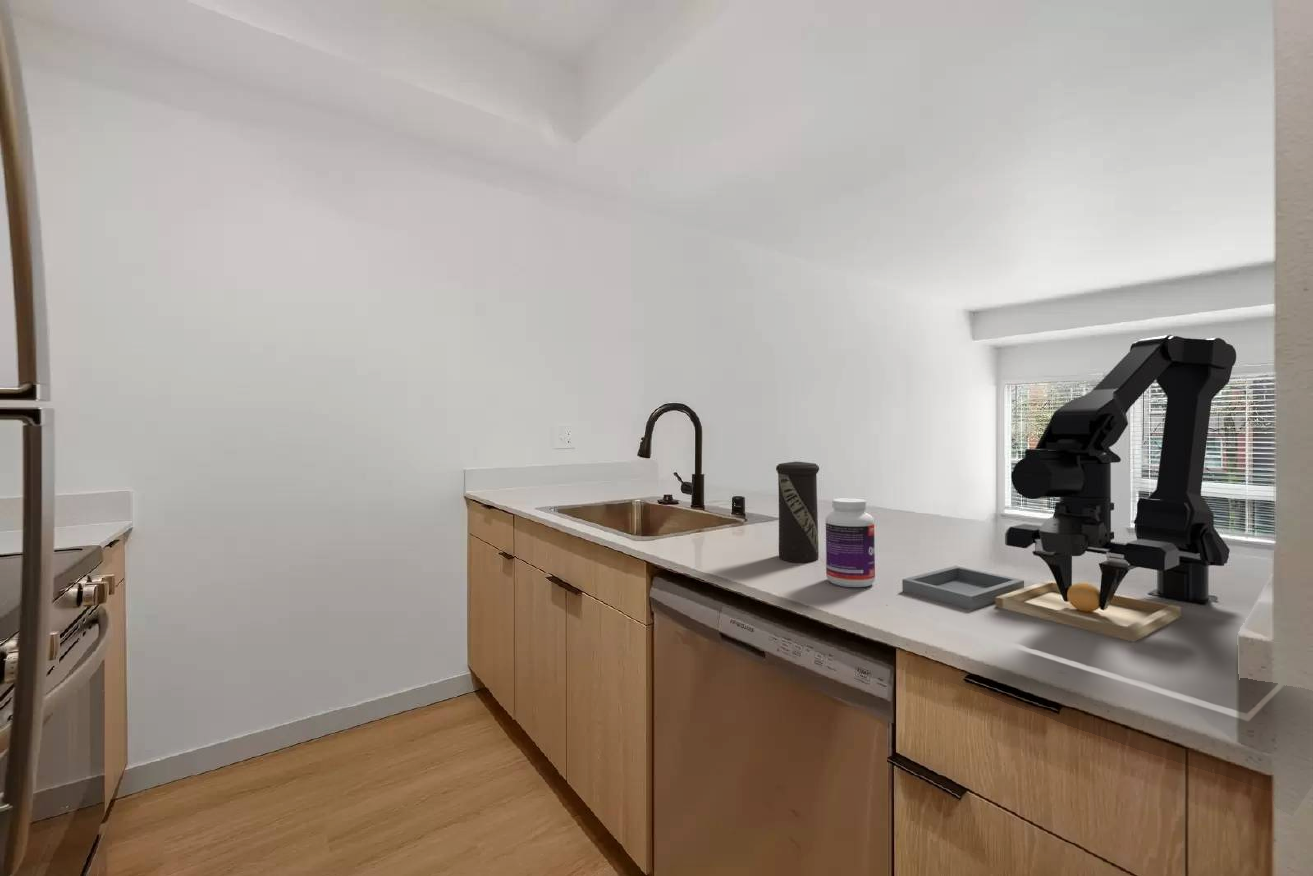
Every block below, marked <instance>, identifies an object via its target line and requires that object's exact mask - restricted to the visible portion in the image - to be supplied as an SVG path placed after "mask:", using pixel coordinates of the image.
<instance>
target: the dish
mask: <svg viewBox="0 0 1313 876" xmlns="http://www.w3.org/2000/svg"><path fill="white" fill-rule="evenodd" d="M1099 591H1100V589H1099ZM994 604H995V607H996V608H1000V609H1005V610H1008V611H1011V612H1015V613H1019V614H1024V615H1028V616H1032V617H1035V618H1039V619H1043V620H1046V621H1050V622H1055V623H1058V624H1062V625H1066V626H1071V627H1073V628H1076V629H1077V628H1078V629H1081V630H1082V629H1083V630H1085V631H1089V632H1093V633H1097V634H1101V635H1105V636H1109V637H1112V638H1113V637H1114V638H1117V639H1121V640H1123V641H1128V642H1133V643H1134V642H1136V641H1138V640H1140V639H1142V638H1144V637H1145V636H1147V635H1149V634H1151V633H1153V632H1154V631H1157V630H1158V629H1161V628H1163V627H1165V626H1166V625H1168V624H1169V623H1172V622H1173V621H1175V620H1177V619H1179V618H1181V609H1182V607H1181V606H1178V605H1173V604H1167V603H1163V602H1160V601H1159V602H1158V601H1153V600H1148V599H1143V598H1138V597H1134V596H1129V595H1124V594H1123V595H1122V594H1119V593H1115V594H1114V596H1113V598H1112V600H1111V602H1110V603H1109V605H1108V607H1107V609H1106V610H1101V609H1100V608H1099V609H1097V610H1095V611H1092V612H1084V611H1081V610H1078V609H1076V608H1075V607H1073V606H1072V605H1071V604H1070V602H1065V601H1064V600H1063V598H1062V595H1061V593H1060V590H1059V588H1058V586H1057V583H1056V581H1055V580H1049V579H1047V580H1045V581H1040V582H1038V583H1035V584H1032V585H1029V586H1026V587H1025V586H1024V588H1022V589H1019V590H1016V591H1013V592H1010V593H1007V594H1004V595H1001V596H998V597H995V603H994Z"/></svg>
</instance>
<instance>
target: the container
mask: <svg viewBox="0 0 1313 876" xmlns="http://www.w3.org/2000/svg"><path fill="white" fill-rule="evenodd" d="M775 470H776V473H777V476H778V477H777V480H778V481H777V482H778V557H779V558H780V559H781V560H784V561H787V562H793V563H795V562H796V563H810V562H814V561H817V560H819V556H820V555H819V553H820V551H819V550H820V549H819V522H818V491H817V490H818V485H817V484H818V483H817V481H818V480H817V479H818V477H817V474H818V473H819V471H820V466H819V465H818V464H816V463H815V462H814V463H812V462H807V461H806V462H805V461H789V462H783V463H778V465H776V467H775Z"/></svg>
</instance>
